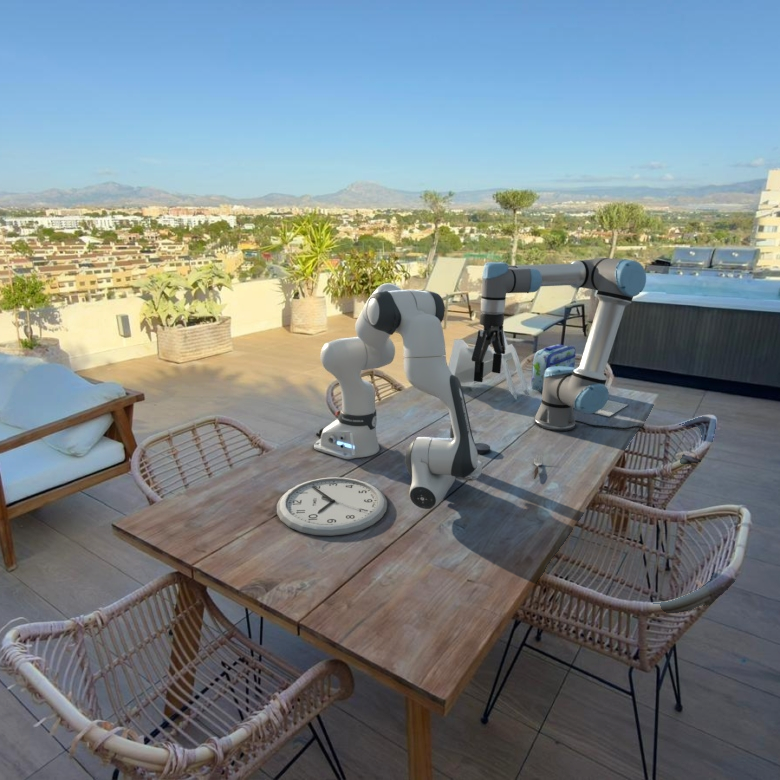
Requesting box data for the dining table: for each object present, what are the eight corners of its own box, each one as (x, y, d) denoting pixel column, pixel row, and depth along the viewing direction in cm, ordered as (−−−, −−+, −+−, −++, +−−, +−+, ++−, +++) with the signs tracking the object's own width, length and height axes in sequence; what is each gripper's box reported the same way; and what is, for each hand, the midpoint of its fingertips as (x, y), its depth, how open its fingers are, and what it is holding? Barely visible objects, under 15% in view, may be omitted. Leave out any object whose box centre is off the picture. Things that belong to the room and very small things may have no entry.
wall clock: (392, 527, 129) (268, 531, 127) (391, 533, 130) (269, 537, 127) (383, 473, 158) (282, 475, 155) (383, 478, 158) (282, 480, 156)
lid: (477, 445, 184) (477, 441, 183) (493, 450, 180) (493, 446, 180) (468, 451, 179) (468, 446, 179) (484, 456, 175) (484, 451, 175)
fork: (529, 479, 159) (530, 473, 158) (534, 459, 173) (535, 453, 173) (538, 481, 158) (539, 475, 158) (543, 460, 172) (543, 454, 172)
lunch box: (547, 397, 237) (552, 352, 231) (526, 391, 245) (531, 348, 238) (574, 386, 255) (580, 344, 249) (554, 381, 262) (559, 340, 256)
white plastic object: (461, 429, 252) (437, 405, 227) (444, 352, 274) (420, 323, 250) (535, 404, 240) (518, 377, 215) (510, 326, 262) (492, 293, 237)
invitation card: (608, 416, 214) (573, 407, 224) (608, 416, 214) (573, 408, 224) (628, 404, 229) (594, 396, 238) (628, 405, 229) (594, 397, 238)
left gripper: (477, 469, 142) (488, 450, 155) (407, 457, 150) (422, 440, 162) (476, 490, 144) (486, 470, 157) (406, 477, 152) (422, 458, 164)
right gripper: (497, 307, 177) (493, 367, 184) (463, 316, 158) (459, 383, 164) (518, 309, 173) (513, 371, 180) (485, 318, 154) (480, 387, 160)
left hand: (453, 454), depth 159 cm, fingers open, 8 cm apart
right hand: (487, 377), depth 172 cm, fingers open, 13 cm apart
